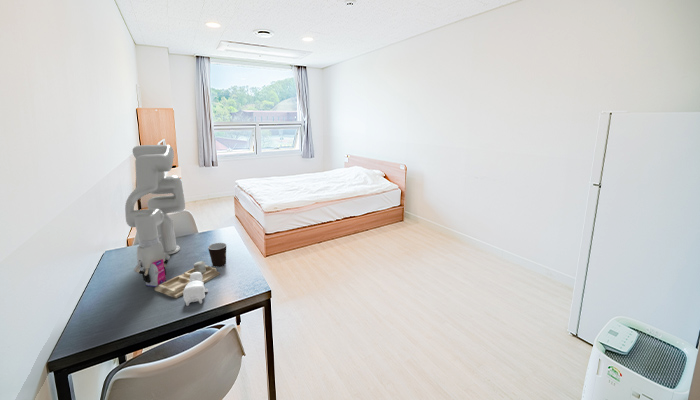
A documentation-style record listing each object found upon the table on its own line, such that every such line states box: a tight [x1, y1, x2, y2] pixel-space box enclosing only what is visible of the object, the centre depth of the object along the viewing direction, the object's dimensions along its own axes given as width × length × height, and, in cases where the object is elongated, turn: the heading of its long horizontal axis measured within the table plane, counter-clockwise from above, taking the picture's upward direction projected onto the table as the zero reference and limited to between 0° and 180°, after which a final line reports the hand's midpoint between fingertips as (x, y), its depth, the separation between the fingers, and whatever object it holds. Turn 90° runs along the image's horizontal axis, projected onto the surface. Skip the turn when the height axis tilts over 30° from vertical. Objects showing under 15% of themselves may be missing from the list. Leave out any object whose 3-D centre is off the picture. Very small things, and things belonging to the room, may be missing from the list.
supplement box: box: [145, 259, 167, 288], centre depth 142 cm, size 6×6×12 cm
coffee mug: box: [207, 242, 227, 268], centre depth 163 cm, size 12×9×10 cm
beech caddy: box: [154, 260, 221, 299], centre depth 145 cm, size 14×23×6 cm, turn 154°
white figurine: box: [182, 272, 209, 307], centre depth 133 cm, size 9×8×15 cm
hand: (155, 278), depth 143 cm, fingers closed on supplement box, 6 cm apart
